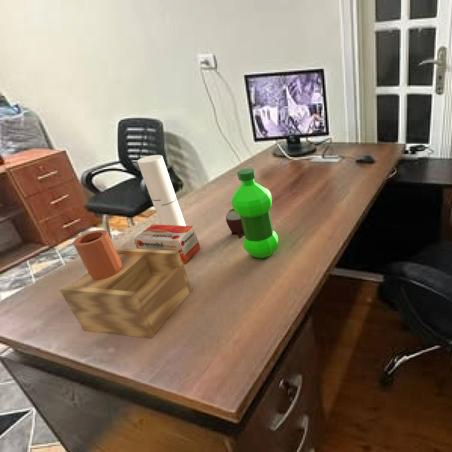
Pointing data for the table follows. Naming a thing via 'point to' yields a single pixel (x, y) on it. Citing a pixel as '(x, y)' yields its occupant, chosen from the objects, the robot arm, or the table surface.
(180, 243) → the medicine box
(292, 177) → the table surface
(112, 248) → the jar
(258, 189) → the plastic bottle
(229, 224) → the mate gourd
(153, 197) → the cylindrical container
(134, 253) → the wooden crate
